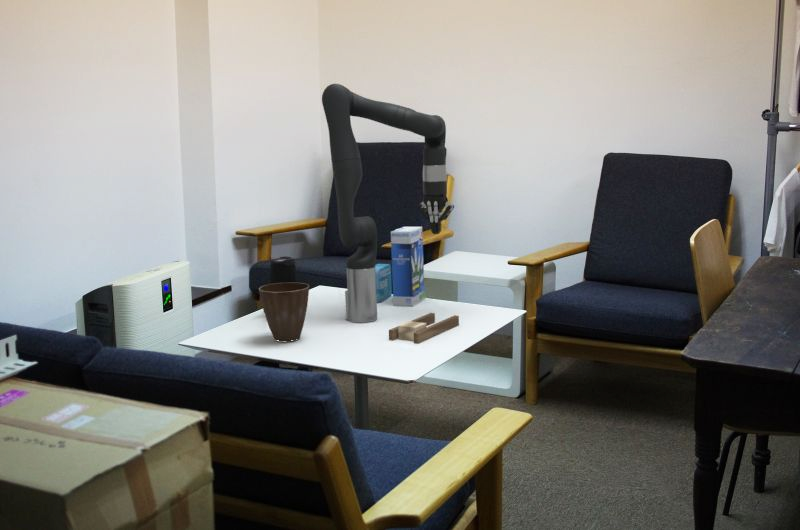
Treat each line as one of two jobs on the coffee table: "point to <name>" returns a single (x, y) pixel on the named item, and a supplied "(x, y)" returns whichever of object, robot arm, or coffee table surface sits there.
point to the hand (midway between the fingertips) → (436, 233)
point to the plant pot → (285, 308)
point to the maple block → (409, 329)
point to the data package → (383, 282)
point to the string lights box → (407, 266)
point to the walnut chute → (430, 330)
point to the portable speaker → (282, 270)
